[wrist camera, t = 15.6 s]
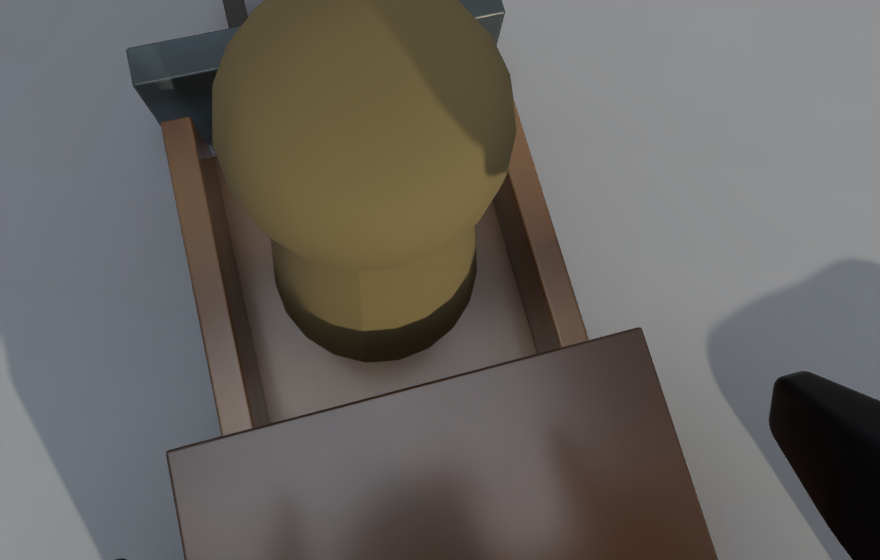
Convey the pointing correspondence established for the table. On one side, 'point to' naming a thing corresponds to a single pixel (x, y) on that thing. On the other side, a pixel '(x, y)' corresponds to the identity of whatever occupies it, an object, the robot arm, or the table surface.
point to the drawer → (252, 272)
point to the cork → (366, 161)
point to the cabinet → (458, 471)
